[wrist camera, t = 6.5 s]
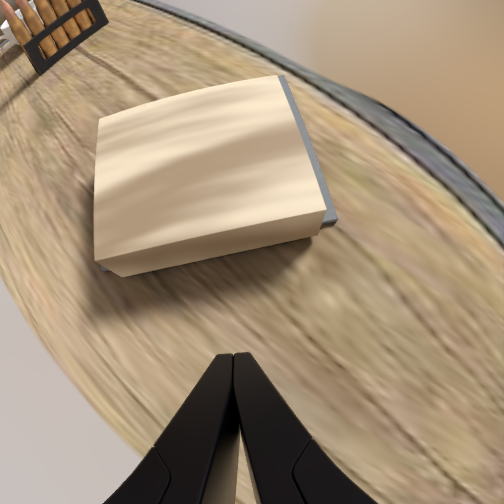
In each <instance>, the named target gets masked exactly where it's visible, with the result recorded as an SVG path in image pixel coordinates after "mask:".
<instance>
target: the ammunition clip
mask: <svg viewBox="0 0 504 504" xmlns="http://www.w3.org/2000/svg"><path fill="white" fill-rule="evenodd" d="M15 1H16V3H17V6H18V8H19V9H20V12H21V14H22V16H23V19H24V22H25V23H26V25H27V27H28V28H29V30H30V32H31V33H32V34H30V32H29V31H28V29H27V28H26V26H25V24H24V23H23V21H22V20H21V19H19V17H18V16H17V14H16V13H15V12H14V10H13V9H12V7H11V6H10V5H9V4H8V3H6V2H5V1H4V0H1V2H0V4H1V9H2V12H3V14H4V17H5V18H6V20H7V22H8V24H9V26H10V29H11V31H12V33H13V35H14V36H15V38H16V39H17V41H18V42H19V44H20V46H21V47H22V49H23V50H24V52H25V54H26V56H27V57H28V59H29V61H30V62H31V64H32V66H33V67H34V69H35V71H36V72H37V73H38V74H39V75H42V74H43V73H45V72H46V71H47V70H48V69H49V68H50V67H51V66H53V65H54V64H55V63H56V62H57V61H59V60H60V59H61V58H62V57H63V56H65V55H66V54H67V53H68V52H70V51H71V50H72V49H73V48H75V47H76V46H77V45H79V44H80V43H81V42H83V41H84V40H85V39H87V38H88V37H89V36H91V35H92V34H94V33H95V32H96V31H98V30H99V29H101V28H102V27H104V26H105V25H107V24H108V22H109V21H108V19H107V17H106V15H105V13H104V11H103V9H102V7H101V5H100V3H99V1H98V0H49V2H50V4H51V6H52V7H51V6H50V4H49V2H48V1H47V0H33V2H34V4H35V7H36V10H37V12H38V14H39V16H40V18H41V19H42V21H43V23H44V25H43V23H42V22H41V20H40V18H39V17H38V15H37V13H36V12H35V11H34V10H33V9H32V7H31V6H30V4H29V3H28V1H27V0H15ZM65 1H66V2H65ZM66 3H67V4H66ZM67 5H68V6H67ZM52 8H53V9H52ZM53 10H54V11H53ZM54 12H55V13H54ZM55 14H56V15H55ZM73 17H74V18H73ZM61 25H62V26H61ZM62 27H63V28H62ZM49 34H50V35H51V37H52V39H53V40H52V39H51V37H50V35H49ZM67 36H68V37H67ZM53 41H54V42H55V44H56V45H55V44H54V42H53ZM38 45H39V46H40V48H41V50H42V51H43V53H44V54H45V55H44V54H43V53H42V51H41V50H40V48H39V47H38Z"/></svg>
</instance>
